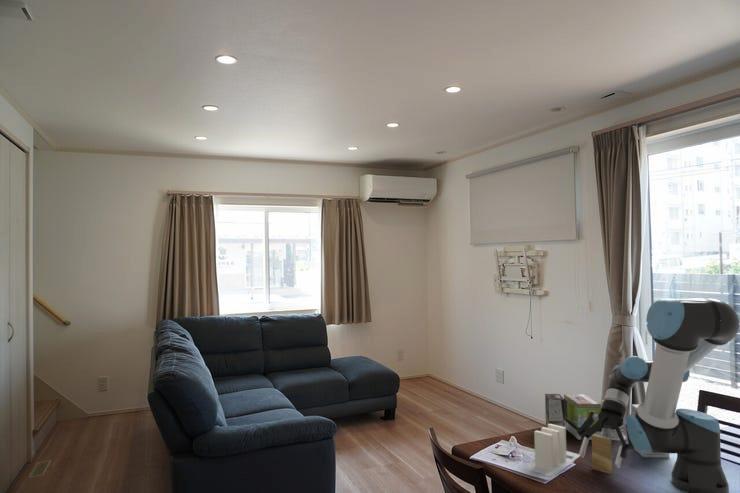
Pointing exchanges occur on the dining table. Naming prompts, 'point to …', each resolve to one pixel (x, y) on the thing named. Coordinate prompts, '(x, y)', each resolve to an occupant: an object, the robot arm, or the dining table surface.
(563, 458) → the ivory tile
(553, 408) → the coffee box
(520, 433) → the dining table surface
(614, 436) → the french press
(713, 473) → the robot arm
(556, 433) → the ivory tile
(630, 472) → the dining table surface
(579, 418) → the tea box
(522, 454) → the dining table surface
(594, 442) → the ochre tile
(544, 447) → the ivory tile
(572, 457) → the mat
